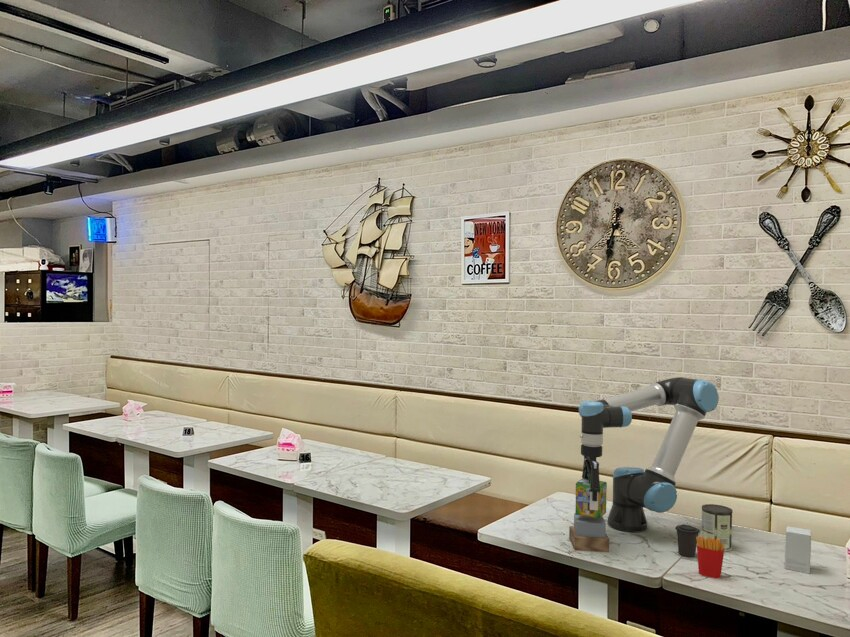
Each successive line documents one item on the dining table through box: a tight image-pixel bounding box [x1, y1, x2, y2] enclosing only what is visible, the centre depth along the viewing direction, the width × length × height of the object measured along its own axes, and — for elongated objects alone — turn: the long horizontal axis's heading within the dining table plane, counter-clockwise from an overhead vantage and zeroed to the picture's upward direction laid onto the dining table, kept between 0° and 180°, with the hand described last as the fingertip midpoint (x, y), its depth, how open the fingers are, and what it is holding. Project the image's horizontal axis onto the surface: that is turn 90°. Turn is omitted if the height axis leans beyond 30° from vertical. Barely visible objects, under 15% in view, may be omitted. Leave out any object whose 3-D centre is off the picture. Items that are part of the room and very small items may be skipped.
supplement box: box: [784, 525, 812, 574], centre depth 210 cm, size 7×7×13 cm
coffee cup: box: [674, 523, 701, 559], centre depth 219 cm, size 8×8×10 cm
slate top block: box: [573, 513, 607, 538], centre depth 226 cm, size 10×10×5 cm
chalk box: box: [575, 473, 608, 519], centre depth 226 cm, size 9×9×15 cm
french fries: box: [696, 535, 725, 579], centre depth 202 cm, size 8×4×12 cm, turn 59°
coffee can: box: [700, 503, 733, 553], centre depth 228 cm, size 10×10×14 cm
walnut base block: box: [568, 525, 610, 553], centre depth 226 cm, size 12×12×5 cm
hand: (590, 504), depth 226 cm, fingers closed on chalk box, 12 cm apart
